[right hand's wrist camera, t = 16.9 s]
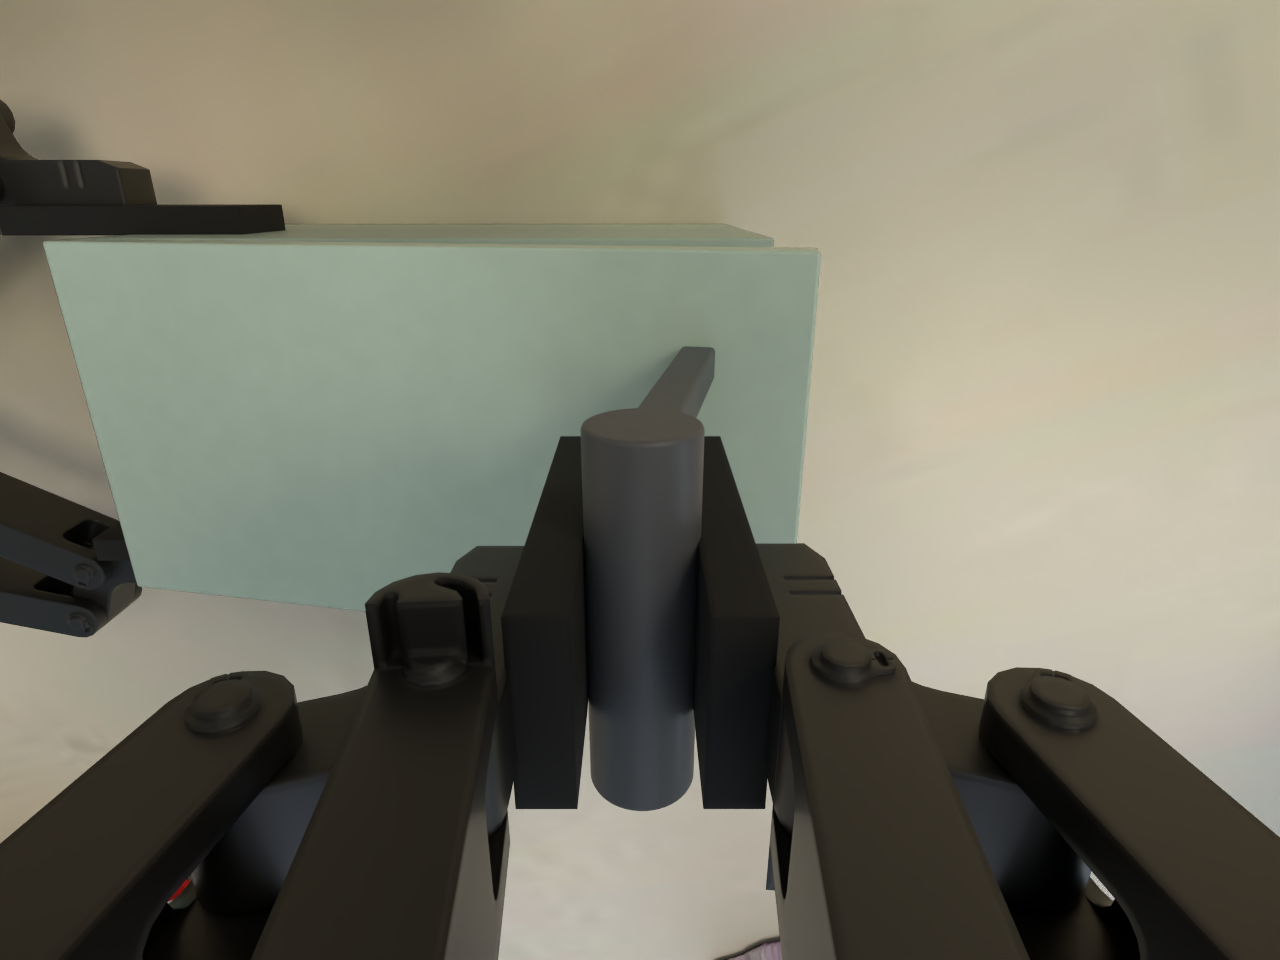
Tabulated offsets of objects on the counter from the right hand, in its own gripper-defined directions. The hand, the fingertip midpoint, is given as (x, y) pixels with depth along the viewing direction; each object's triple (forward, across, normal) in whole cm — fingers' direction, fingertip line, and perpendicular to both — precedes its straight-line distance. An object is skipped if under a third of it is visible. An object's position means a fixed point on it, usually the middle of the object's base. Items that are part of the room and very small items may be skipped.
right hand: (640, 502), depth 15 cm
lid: (+4, -5, 0) cm, 6 cm away
